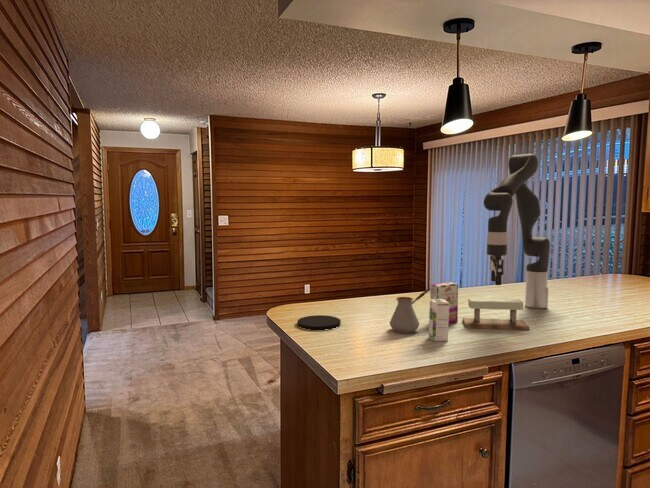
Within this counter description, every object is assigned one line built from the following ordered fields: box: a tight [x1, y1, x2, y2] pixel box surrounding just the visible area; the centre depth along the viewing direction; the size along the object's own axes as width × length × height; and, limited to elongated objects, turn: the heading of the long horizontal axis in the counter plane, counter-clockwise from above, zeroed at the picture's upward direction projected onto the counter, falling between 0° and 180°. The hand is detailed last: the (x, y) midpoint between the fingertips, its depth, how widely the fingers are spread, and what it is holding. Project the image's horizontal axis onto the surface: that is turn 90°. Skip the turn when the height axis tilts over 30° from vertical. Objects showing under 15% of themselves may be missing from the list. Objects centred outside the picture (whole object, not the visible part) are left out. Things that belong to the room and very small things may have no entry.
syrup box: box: [428, 299, 450, 342], centre depth 167 cm, size 6×6×14 cm
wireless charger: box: [297, 314, 342, 331], centre depth 188 cm, size 18×18×2 cm
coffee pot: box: [389, 288, 432, 334], centre depth 181 cm, size 21×12×15 cm, turn 128°
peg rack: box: [462, 309, 530, 331], centre depth 185 cm, size 24×10×8 cm, turn 80°
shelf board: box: [467, 297, 524, 311], centre depth 184 cm, size 20×6×3 cm, turn 82°
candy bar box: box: [429, 281, 459, 324], centre depth 190 cm, size 11×5×16 cm, turn 117°
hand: (495, 283), depth 184 cm, fingers open, 8 cm apart
